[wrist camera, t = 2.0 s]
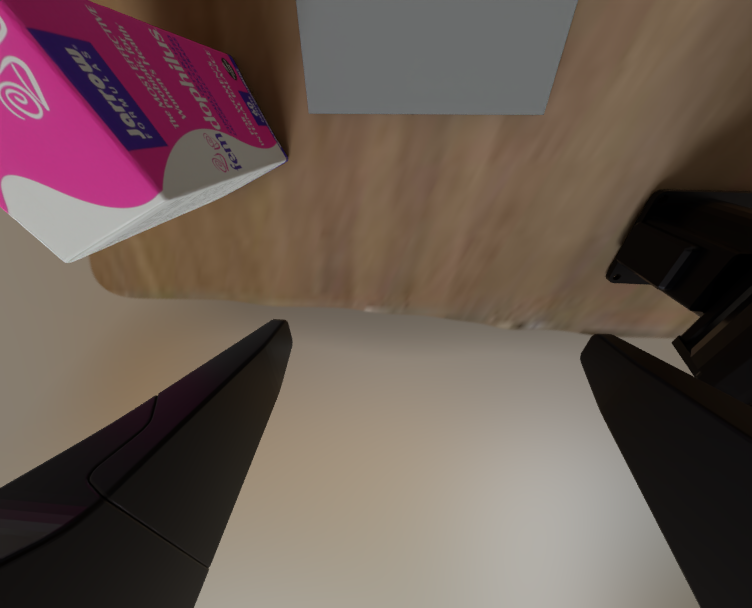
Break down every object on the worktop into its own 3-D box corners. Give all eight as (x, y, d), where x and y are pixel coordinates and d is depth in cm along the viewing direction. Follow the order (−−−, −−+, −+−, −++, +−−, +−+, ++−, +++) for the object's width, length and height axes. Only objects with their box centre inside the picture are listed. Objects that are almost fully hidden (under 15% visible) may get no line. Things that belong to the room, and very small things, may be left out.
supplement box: (293, 158, 18) (169, 208, 8) (226, 195, 19) (62, 271, 10) (233, 48, 15) (-61, -65, 5) (161, 104, 16) (-155, 92, 7)
